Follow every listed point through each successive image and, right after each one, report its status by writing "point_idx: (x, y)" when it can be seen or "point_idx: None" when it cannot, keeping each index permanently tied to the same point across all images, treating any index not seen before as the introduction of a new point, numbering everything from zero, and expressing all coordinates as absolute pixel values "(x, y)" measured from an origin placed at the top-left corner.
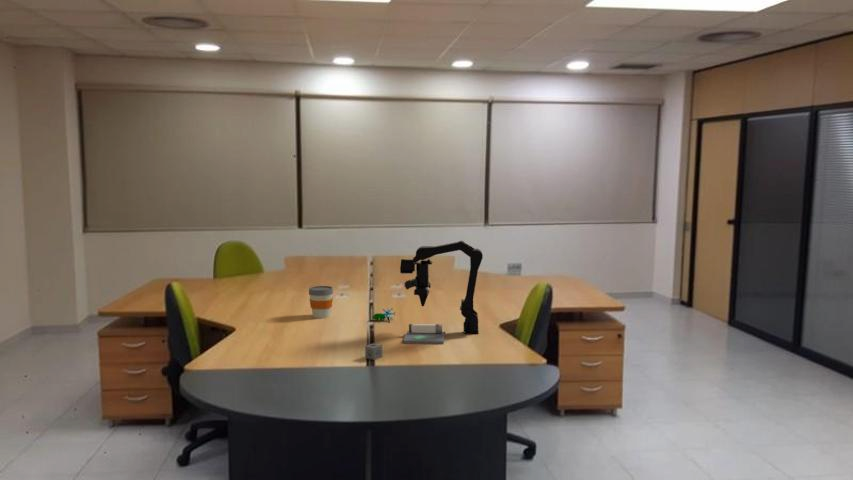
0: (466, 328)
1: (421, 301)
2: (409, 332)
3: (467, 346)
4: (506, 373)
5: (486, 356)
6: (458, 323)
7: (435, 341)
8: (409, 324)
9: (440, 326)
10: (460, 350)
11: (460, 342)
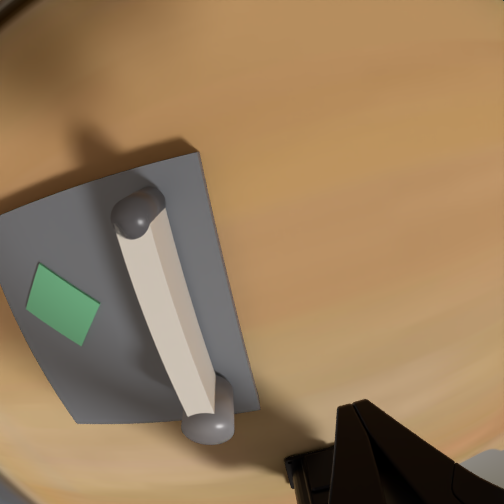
0: (304, 475)
1: (330, 489)
2: (157, 187)
3: (106, 476)
4: (2, 496)
5: (56, 496)
6: (470, 373)
7: (57, 393)
8: (131, 203)
9: (191, 436)
10: (52, 458)
11: (140, 461)
